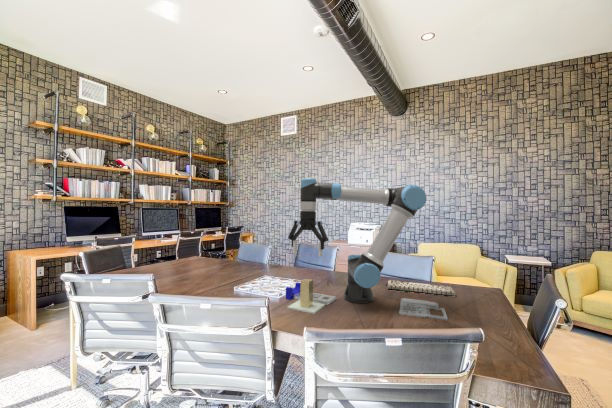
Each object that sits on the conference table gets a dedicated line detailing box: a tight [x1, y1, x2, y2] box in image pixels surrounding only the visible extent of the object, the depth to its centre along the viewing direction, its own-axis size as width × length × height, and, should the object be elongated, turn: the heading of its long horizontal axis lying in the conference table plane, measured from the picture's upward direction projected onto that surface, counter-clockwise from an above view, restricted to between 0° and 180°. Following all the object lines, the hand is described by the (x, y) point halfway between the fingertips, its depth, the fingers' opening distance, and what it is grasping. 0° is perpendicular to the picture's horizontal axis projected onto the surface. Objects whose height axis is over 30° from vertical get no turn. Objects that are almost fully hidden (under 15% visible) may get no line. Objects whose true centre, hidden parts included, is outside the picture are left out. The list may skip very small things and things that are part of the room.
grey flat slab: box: [398, 297, 448, 321], centre depth 135 cm, size 23×3×20 cm
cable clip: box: [285, 281, 301, 301], centre depth 152 cm, size 12×4×6 cm, turn 153°
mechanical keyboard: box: [385, 279, 457, 297], centre depth 168 cm, size 38×19×3 cm, turn 73°
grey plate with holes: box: [292, 292, 337, 306], centre depth 147 cm, size 20×10×2 cm, turn 63°
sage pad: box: [286, 299, 326, 315], centre depth 135 cm, size 14×12×1 cm
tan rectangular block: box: [300, 278, 314, 308], centre depth 135 cm, size 4×4×12 cm
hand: (307, 255), depth 135 cm, fingers open, 13 cm apart
